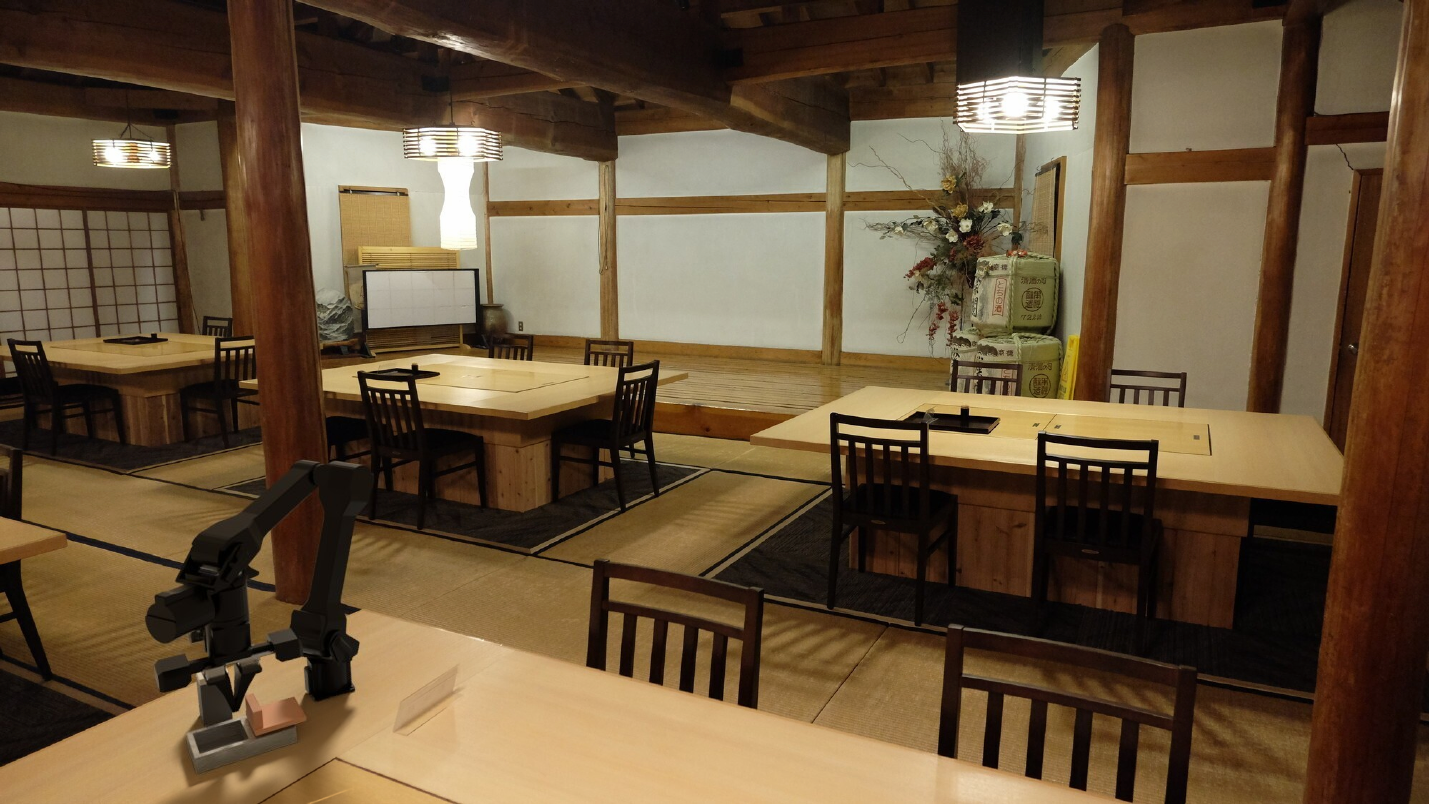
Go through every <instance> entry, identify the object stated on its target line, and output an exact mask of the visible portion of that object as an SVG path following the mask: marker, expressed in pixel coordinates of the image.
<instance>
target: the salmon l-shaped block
mask: <svg viewBox="0 0 1429 804" xmlns="http://www.w3.org/2000/svg"><path fill="white" fill-rule="evenodd" d="M244 702H245V715H246V716H247V718H248V721H249V723H250V725H251V727H252V729H253V731H254V733H255V735H256V736H258V735H261V734H264V733H267V732H271V731H274V730H277V729H280V728H284V727H287V726H290V725H293V724H295V725H297V724H300V723H302V722H306V721H307V716H306V714H305V712H304V710H303V709H302V707H301V705H300V704H299V701H298V700H297V699H296V697H295V696H291V697H288V698H284V699H280V700H277V701H273V702H270V703H267V704H263V705H260V704H259V702H258V699H257V697H256V696H255V693H254V692H251V693H248V694H245V697H244Z"/></svg>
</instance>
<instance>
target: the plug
mask: <svg viewBox="0 0 1429 804" xmlns="http://www.w3.org/2000/svg"><path fill="white" fill-rule="evenodd" d="M226 671H227V673H228V675H229V676H230V674H229V671H228V668H227V667H226ZM195 680H196V688H197V689H196V690H197V700H198V701H197V702H198V708H199V716H200V719H201V721H202V724H203V727H208V726H211V725H215V724H218V723H221V722H225V721H228V720H232V719H234V718H233V712H232V710H231V708H230V707H229V705H228V703H227V701H226V699H225V697H224V695H223V694H222V693H221V692H220V690H219V689H218V688H217V687H216V686H215V685H212V686H207V685H206V682H205V680H204V678H203V675H202V673H201V672H200V673H196V674H195Z"/></svg>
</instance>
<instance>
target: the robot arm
mask: <svg viewBox="0 0 1429 804" xmlns="http://www.w3.org/2000/svg"><path fill="white" fill-rule="evenodd" d="M374 484H375V475H374V473H372V470H371V469H370V468H369V466H367V465H364V464H359V463H352V462H347V461H345V462H344V461H338V460H333V461H331V462H329V463H328V464H325V463H324V462H320V461H314V460H308V459H307V460H305V459H301V460H298V461H295V462H294V463H292V465H291V466H290V468H289V470H288V471H287V472H286V473H284V474H283V476H281V477H280V478H279V479H277V480H276V481H275V482H274V483H273V484H272V485H271V486H269V488H267V489H266V490H265V491H264V492H263V493H261V494H260V495H259V496H258V497H257V498H255V500H253V501H252V502H250V504H249V505H247V506H246V507H245V508H243V510H242V511H241V512H238V513H237V514H235V515H233V516H231V517H227V518H224V519H222V520H219V521H217V522H216V523H214V524H212V525H210V526H209V527H207V528H206V529H204V530H202V531H201V532H199V533H198V534H197V535H196V536H195V537H194V538H193V540H192V541H191V548H190V550H189V551H188V554H187V556H186V558H185V559H184V562H183V564H182V565H181V568H180V569H179V571H178V573H177V576H176V577H175V579H174V582H175V583H176V584H179V585H180V586H177V587H174V588H172V589H169V590H165V591H161V592H159V593H156V594H155V595H154V597H153V598H154V603H153V604H151V605H149V607H148V609H147V610H146V615H145V616H144V621H145V627H146V628H147V631H148V633H149V635H151V637H152V638H153V639H154V640H155V641H156V642H158V643H160V644H164V645H165V644H166V645H167V644H169V643H172V642H174V641H177V640H179V639H181V638H183V637H185V636H187V635H188V640H189V643H191V644H195V643H200V642H203V650H204V652H205V653H207V656H204V657H200V658H196V659H191V660H188V658H187V655H186V653H181V654H176V655H173V656H169V657H164V658H160V659H157V661H156V662H155V664H153V669H154V670H153V671H154V673H153V674H154V679H155V682H156V685H157V688H158V691H159V693H164V694H166V693H169V692H173V691H176V690H177V691H178V690H180V689H184V688H187V687H188V686H189V685H190V683H191V682H192V681H193V677H192V675H194V674H195V675H196V673H200V672H201V673H202V675H203V678H204V680H205V682H206V685H207V686H212V685H215V686H216V687H217V688H218V689H219V690H220V692H221V693H222V694H223V695H224V697H225V699H226V701H227V703H228V705H229V707H230V708H231V710H232V714H234V713H238V712H239V711H240V710H241V707H242V704H243V702H244V700H245V695H247V691H248V689H249V687H250V685H251V684H252V682H253V680H254V678H255V676H256V675H258V674H261V673H262V672H263V666H262V665H261V663H260V661H261V658H262V657H266V656H271V655H274V658H275V659H276V660H278V661H279V662H281V663H285V662H288V661H292V660H296V659H300V658H306V665H305V666H304V667H303V673H304V674H303V675H304V689H305V690H306V692H307V694H308V695H309V696H311V697H312V698H313V700H314V702H316V703H317V702H321V701H324V700H327V699H331V698H334V697H338V696H341V695H344V694H348V693H351V692H354V691H356V686H355V684H353V681H352V679H353V677H352V666H351V662H352V661H353V658H354V657H356V656H357V655H358V654H359V649H360V644H361V642H360V641H359V640H357V639H356V638H354V637H353V636H351V635H349V634H348V633H347V627H348V626H347V625H348V618H347V615H346V613H345V610H344V608H343V604H342V595H343V589H344V584H345V581H346V580H345V578H346V573H347V567H348V563H349V558H350V551H351V546H352V541H353V534H354V529H355V523H356V519H357V516H358V515H359V514H360V513H361V511H362V510H363V509H364V508H365V506H367V504H368V503H369V501H370V498H371V495H372V491H373V487H374ZM316 489H318V491H317V492H318V494H317V496H318V499H319V502H320V504H321V507H322V511H323V520H322V523H321V524H322V525H321V530H320V536H319V540H318V547H317V552H316V558H315V563H314V568H313V574H312V579H311V583H310V590H309V596H308V598H307V600H306V602H304V604H303V605H302V606H301V607H300V609H293V610H292V612H291V615H290V624H289V628H286V629H281V630H277V631H273V632H270V633H267V634H266V638H265V639H266V642H262V643H257V644H252V643H253V641H252V630H251V621H250V620H251V619H250V606H249V594H248V593H249V592H248V581H249V580H251V579H253V578H255V577H258V576H259V575H260V571H259V570H258V569H255V568H253V567H251V566H250V563H251V562H252V561H253V560H255V559H254V558H256V557H257V555H258V554H259V553H260V551H261V550H262V547H263V546H262V545H263V542H264V538H265V537H266V536H267V535H268V534H269V532H271V531H272V530H273V529H274V528H275V527H276V526H277V525H278V524H279V523H280V522H281V521H283V520H284V519H285V518H286V517H287V516H288V515H289V514H291V512H293V510H294V509H296V508H297V507H298V506H299V505H300V504H301V503H302V502H303V501H305V499H306V498H308V497H309V496H310V495H311V494H312V493H313V492H314V491H316ZM202 569H203V570H206V571H207V570H208V571H212V572H218V573H217V574H214V575H213V574H208V573H204V572H201V571H200V570H202ZM199 571H200V572H199ZM230 665H233V672H234V673H233V675H234V676H233V677H234V678H233V687H232V682H231V677H230V674H229V675H228V673H227V671H226V668H227V666H230Z"/></svg>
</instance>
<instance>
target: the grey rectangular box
mask: <svg viewBox="0 0 1429 804" xmlns="http://www.w3.org/2000/svg"><path fill="white" fill-rule="evenodd" d="M185 735H186V742H187V743H186V745H187V750H188V752H189V756H190V758H191V761H192V764H193V767H194V771H195V773H196V775H198V774H202V773H204V772H207V771H211V770H215V769H218V768H220V767H224V766H226V765H230V764H233V763H235V762H236V763H237V762H238V761H242V760H245V759H248V758H252V757H255V756H258V755H260V754H264V753H266V752H270V751H274V750H276V749H279V748H284V747H286V746H289V745H292V744H295V743H298V736H297V725H296V724H293V725H290V726H287V727H284V728H280V729H277V730H274V731H271V732H267V733H264V734H261V735H258V736H256V735H255V733H254V731H253V729H252V727H251V725H250V723H249V721H248V718H247V716H246V714H245V715H243V716H239V717H236V718H232V719H228V720H225V721H221V722H218V723H214V724H211V725H208V726H203V727H201V728H198V729H194V730H191V731H187V732H186V734H185Z"/></svg>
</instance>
